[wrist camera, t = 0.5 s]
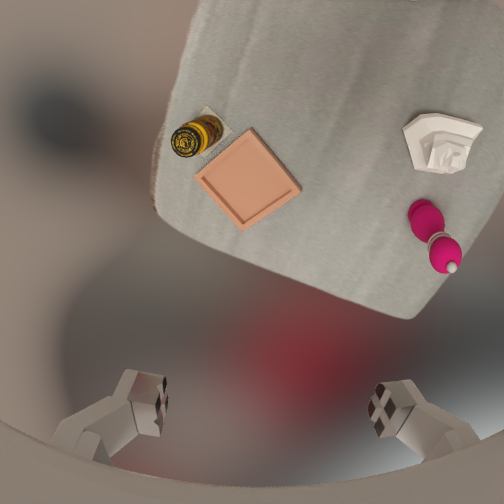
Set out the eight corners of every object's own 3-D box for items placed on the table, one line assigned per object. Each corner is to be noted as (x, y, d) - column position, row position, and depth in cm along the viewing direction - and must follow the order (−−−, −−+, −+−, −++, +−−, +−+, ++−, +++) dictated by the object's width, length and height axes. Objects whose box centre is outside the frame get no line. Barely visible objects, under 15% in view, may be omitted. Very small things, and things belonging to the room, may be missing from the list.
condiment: (233, 130, 53) (211, 144, 44) (204, 157, 58) (179, 177, 48) (207, 104, 51) (180, 113, 42) (180, 133, 56) (151, 148, 46)
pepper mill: (409, 232, 56) (435, 294, 40) (402, 203, 53) (430, 259, 37) (439, 222, 53) (473, 280, 37) (432, 192, 50) (471, 244, 34)
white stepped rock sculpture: (459, 171, 47) (477, 215, 39) (395, 154, 51) (402, 195, 42) (475, 119, 38) (504, 154, 29) (406, 97, 42) (421, 126, 33)
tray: (251, 127, 52) (248, 129, 50) (301, 187, 57) (301, 192, 55) (197, 173, 60) (193, 177, 58) (245, 226, 65) (242, 231, 63)
